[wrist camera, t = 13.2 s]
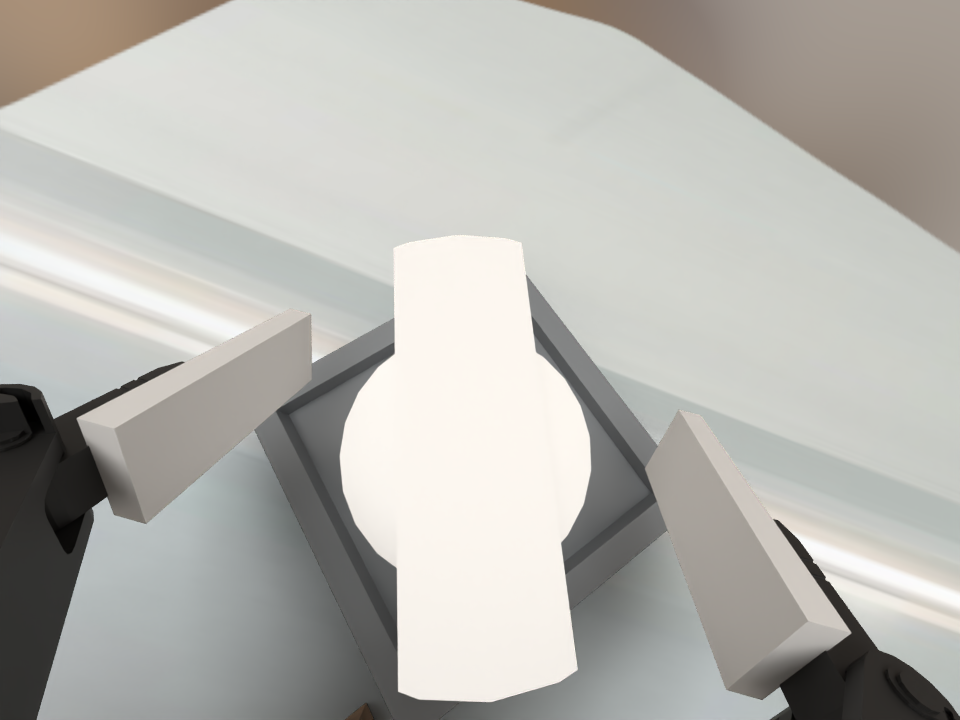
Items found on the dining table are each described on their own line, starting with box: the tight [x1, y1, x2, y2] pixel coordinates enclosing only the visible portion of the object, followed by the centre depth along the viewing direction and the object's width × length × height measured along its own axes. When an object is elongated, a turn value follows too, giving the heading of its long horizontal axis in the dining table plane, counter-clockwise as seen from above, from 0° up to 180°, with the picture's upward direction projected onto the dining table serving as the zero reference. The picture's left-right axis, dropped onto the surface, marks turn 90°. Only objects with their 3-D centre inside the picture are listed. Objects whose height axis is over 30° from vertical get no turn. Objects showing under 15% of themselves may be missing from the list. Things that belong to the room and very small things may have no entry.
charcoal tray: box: [254, 275, 667, 720], centre depth 18 cm, size 16×16×2 cm
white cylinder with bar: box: [340, 235, 591, 702], centre depth 13 cm, size 9×9×12 cm
